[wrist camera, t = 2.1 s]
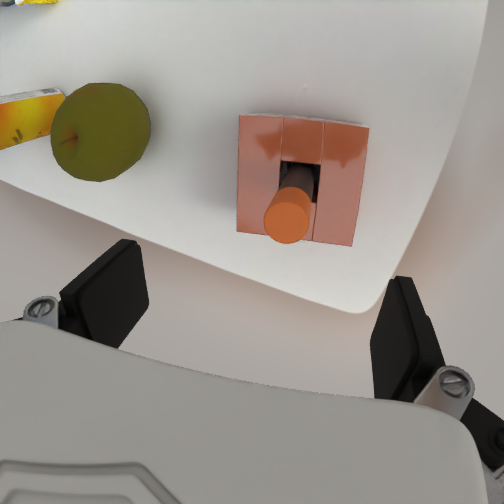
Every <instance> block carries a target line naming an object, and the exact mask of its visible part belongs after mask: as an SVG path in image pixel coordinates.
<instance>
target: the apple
mask: <svg viewBox="0 0 504 504" xmlns="http://www.w3.org/2000/svg"><path fill="white" fill-rule="evenodd" d="M50 134H51V146H52V151H53V155H54V157H55V159H56V161H57V163H58V165H59V166H60V167H61V168H62V169H63V170H64V171H66V172H67V173H69V174H70V175H71V176H73V177H74V178H78V179H82V180H86V181H95V182H102V181H106V180H110V179H114V178H116V177H117V176H119V175H120V174H122V173H123V172H124V171H126V170H127V169H129V168H130V167H131V166H132V165H134V164H135V163H136V162H137V161H138V160H140V159H141V157H142V155H143V153H144V150H145V148H146V146H147V144H148V142H149V138H150V118H149V114H148V110H147V108H146V107H145V105H144V104H143V102H142V101H141V99H140V98H139V97H138V96H137V95H136V93H135V92H134V91H133V90H131V89H129V88H127V87H125V86H123V85H121V84H113V83H89V84H87V85H85V86H83V87H81V88H79V89H77V90H75V91H74V92H73V93H72V94H70V95H69V96H68V97H67V98H66V99H65V100H64V101H63V102H62V104H61V105H60V106H59V108H58V109H57V111H56V113H55V116H54V119H53V122H52V125H51V130H50Z"/></svg>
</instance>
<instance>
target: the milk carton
mask: <svg viewBox="0 0 504 504" xmlns="http://www.w3.org/2000/svg"><path fill="white" fill-rule="evenodd" d="M13 4H15V0H0V6H11V5H13Z"/></svg>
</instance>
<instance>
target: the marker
mask: <svg viewBox="0 0 504 504" xmlns="http://www.w3.org/2000/svg"><path fill="white" fill-rule="evenodd" d="M315 172H316V168H315V164H309V163H301V162H292V164H291V166H290V168H289V170H288V172H287V174H286V176H285V178H284V179H283V181H282V183H281V185H280V187H279V189H278V191H277V193H276V194H275V195H274V197H273V199H272V201H271V203H270V205H269V206H268V208H267V210H266V212H265V214H264V219H263V223H264V228H265V230H266V232H267V233H268V235H269V236H270V237H271V238H272V239H274V240H275V241H277V242H280V243H286V244H289V243H294V242H297V241H299V240H301V239H302V238H303V237H304V236H305V234H306V233H307V231H308V228H309V221H310V214H311V201H312V194H313V187H314V179H315Z"/></svg>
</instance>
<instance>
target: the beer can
mask: <svg viewBox="0 0 504 504" xmlns="http://www.w3.org/2000/svg"><path fill="white" fill-rule="evenodd" d="M65 99H66V97H65V96H64V94H63V93H62V92H61V91H60V90H58V89H55V88H51V89H43V90H36V91H29V92H23V93H17V94H11V95H6V96H1V97H0V150H2V149H5V148H8V147H11V146H14V145H17V144H20V143H23V142H26V141H30V140H33V139H36V138H39V137H43V136H46V135H50V130H51V125H52V122H53V119H54V116H55V113H56V111H57V109H58V108H59V106H60V105H61V104H62V102H63V101H64V100H65Z"/></svg>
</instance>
